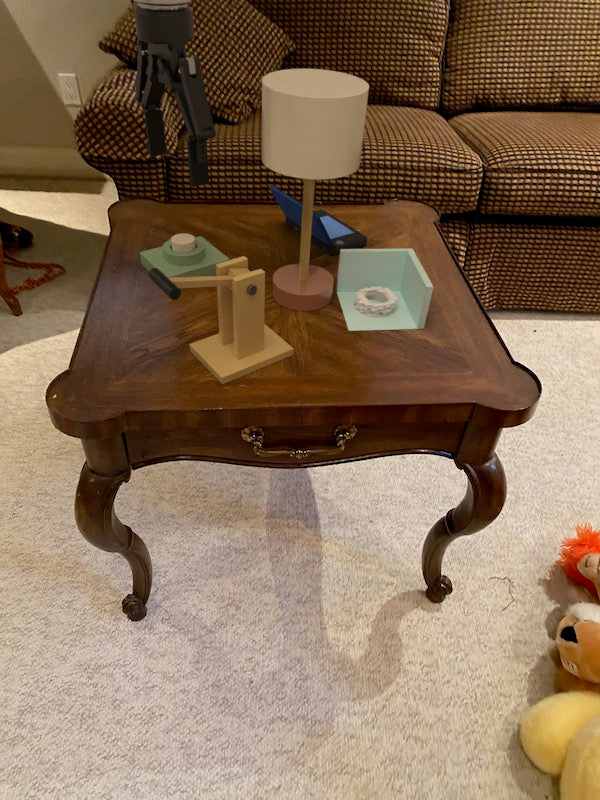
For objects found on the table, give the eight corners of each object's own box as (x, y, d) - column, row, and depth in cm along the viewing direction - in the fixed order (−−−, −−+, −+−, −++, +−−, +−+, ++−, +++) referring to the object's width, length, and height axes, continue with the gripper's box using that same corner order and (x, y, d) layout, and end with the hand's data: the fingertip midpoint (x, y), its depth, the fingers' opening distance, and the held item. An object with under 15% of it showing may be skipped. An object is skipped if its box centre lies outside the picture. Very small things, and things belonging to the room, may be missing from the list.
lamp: (293, 328, 90) (305, 103, 69) (243, 287, 98) (241, 75, 77) (361, 301, 97) (391, 89, 76) (310, 265, 105) (324, 64, 84)
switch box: (167, 289, 97) (165, 267, 94) (140, 263, 102) (137, 242, 100) (230, 270, 102) (229, 249, 100) (201, 246, 108) (200, 226, 105)
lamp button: (178, 256, 98) (177, 246, 97) (167, 246, 100) (166, 236, 99) (200, 250, 100) (199, 240, 98) (188, 240, 102) (187, 231, 101)
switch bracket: (222, 384, 80) (218, 297, 70) (189, 350, 85) (181, 265, 75) (293, 355, 85) (298, 270, 76) (258, 325, 90) (259, 242, 81)
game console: (369, 246, 112) (376, 198, 105) (313, 263, 106) (316, 214, 99) (321, 214, 121) (324, 169, 115) (266, 228, 115) (267, 181, 109)
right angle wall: (336, 289, 99) (340, 249, 94) (404, 288, 101) (412, 248, 96) (348, 330, 90) (354, 288, 85) (423, 328, 92) (433, 287, 87)
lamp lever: (168, 303, 69) (170, 284, 67) (147, 282, 72) (149, 264, 70) (258, 297, 77) (262, 280, 76) (236, 279, 80) (239, 262, 79)
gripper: (238, 20, 71) (242, 192, 85) (147, -12, 85) (163, 140, 99) (182, 25, 67) (196, 203, 81) (97, -10, 82) (121, 147, 96)
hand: (178, 169), depth 90 cm, fingers open, 13 cm apart
